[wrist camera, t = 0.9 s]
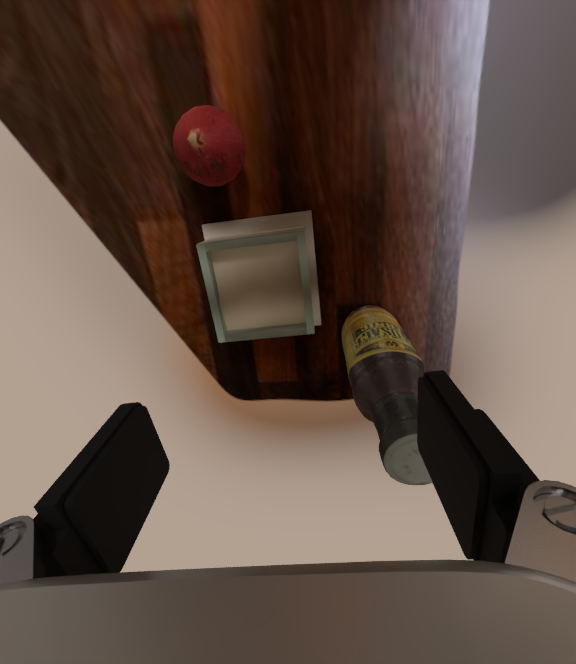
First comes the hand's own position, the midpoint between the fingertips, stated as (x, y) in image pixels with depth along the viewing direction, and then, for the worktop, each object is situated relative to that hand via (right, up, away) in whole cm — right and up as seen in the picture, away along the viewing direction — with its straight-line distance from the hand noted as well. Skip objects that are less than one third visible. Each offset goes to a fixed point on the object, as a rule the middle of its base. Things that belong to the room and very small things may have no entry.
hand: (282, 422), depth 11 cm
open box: (-2, +9, +24) cm, 25 cm away
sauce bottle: (+9, +4, +26) cm, 27 cm away
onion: (-6, +20, +19) cm, 28 cm away
